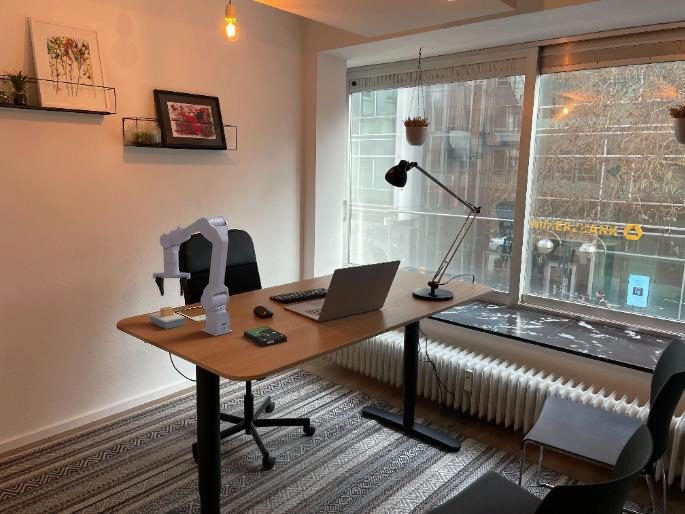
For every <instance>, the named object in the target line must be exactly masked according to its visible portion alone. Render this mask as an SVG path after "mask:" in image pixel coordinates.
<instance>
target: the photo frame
mask: <svg viewBox="0 0 685 514" xmlns="http://www.w3.org/2000/svg"><path fill="white" fill-rule="evenodd" d="M196 307H197V306H194V307H193V308H194V309H197V308H196ZM198 307H199V308H203V307H202V305H199V306H198ZM191 308H192V307H190V308H188V309H189V310H192V309H191ZM184 309H185V310H184V311H187V310H186V309H187V308H184ZM177 313H179V315H180V314H182V315H184V316H186V317H185V318H187V317H188V318H187V319H189V318H190V319H189V320H191V319H192V321H194V322H196V321H198V322H202V321H206V313H205V314H201V315H197V316H189V315H186V314H184V313H182V312H181V311H179V312H177ZM177 313H176V314H177ZM201 320H202V321H201Z"/></svg>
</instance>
